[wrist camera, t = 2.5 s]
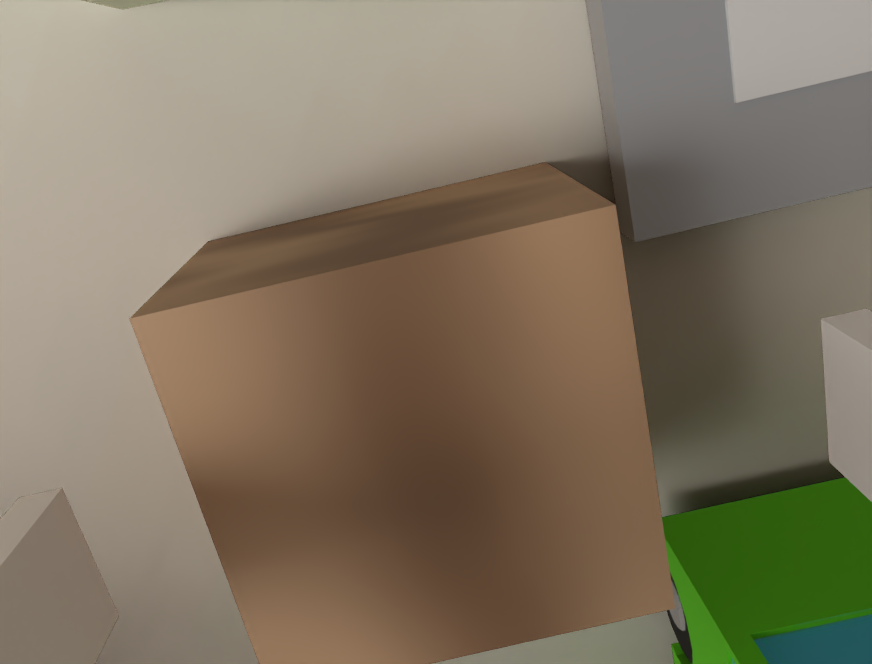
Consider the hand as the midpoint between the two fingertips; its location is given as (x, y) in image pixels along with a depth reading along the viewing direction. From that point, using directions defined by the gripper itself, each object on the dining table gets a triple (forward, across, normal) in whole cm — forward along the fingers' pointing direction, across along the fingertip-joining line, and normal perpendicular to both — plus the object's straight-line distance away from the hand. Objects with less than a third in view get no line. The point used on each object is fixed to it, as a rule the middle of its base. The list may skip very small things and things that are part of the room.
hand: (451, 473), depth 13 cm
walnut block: (+6, -1, 0) cm, 6 cm away
